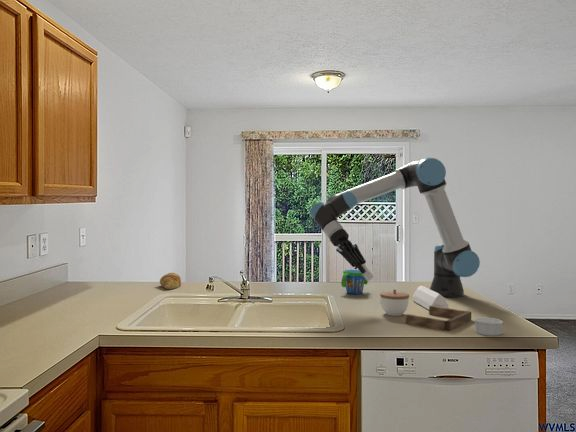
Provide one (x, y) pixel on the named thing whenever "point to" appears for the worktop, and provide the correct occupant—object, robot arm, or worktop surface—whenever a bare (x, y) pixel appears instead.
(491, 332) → the ramekin
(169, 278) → the bread loaf
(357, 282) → the snack cup
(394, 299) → the lidded jar
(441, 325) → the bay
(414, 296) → the white rounded prism
